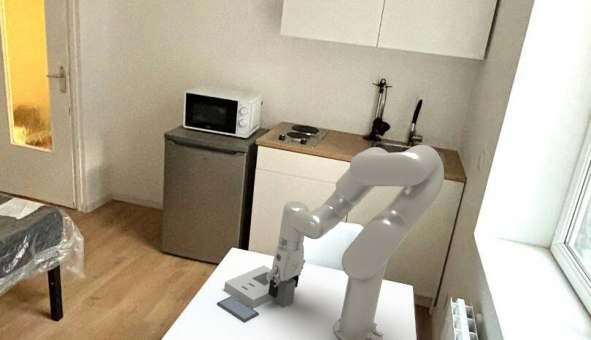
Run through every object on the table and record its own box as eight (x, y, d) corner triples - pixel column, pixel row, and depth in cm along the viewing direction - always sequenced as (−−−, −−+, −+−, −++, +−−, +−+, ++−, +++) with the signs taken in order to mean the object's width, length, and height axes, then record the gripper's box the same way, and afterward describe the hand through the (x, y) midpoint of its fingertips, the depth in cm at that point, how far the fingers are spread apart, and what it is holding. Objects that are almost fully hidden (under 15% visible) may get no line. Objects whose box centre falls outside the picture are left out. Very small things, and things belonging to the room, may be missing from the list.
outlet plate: (291, 289, 160) (292, 280, 160) (252, 308, 147) (253, 299, 146) (262, 273, 168) (263, 265, 167) (224, 290, 155) (225, 281, 154)
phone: (258, 316, 144) (259, 312, 144) (244, 324, 140) (244, 320, 139) (230, 299, 151) (231, 295, 151) (216, 306, 147) (216, 302, 146)
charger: (292, 302, 153) (296, 280, 150) (283, 307, 149) (286, 284, 147) (282, 296, 155) (285, 274, 153) (273, 301, 152) (276, 278, 150)
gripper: (281, 254, 138) (273, 306, 143) (317, 239, 151) (309, 287, 156) (262, 244, 142) (255, 294, 147) (299, 230, 155) (291, 277, 160)
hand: (282, 290), depth 151 cm, fingers open, 9 cm apart
